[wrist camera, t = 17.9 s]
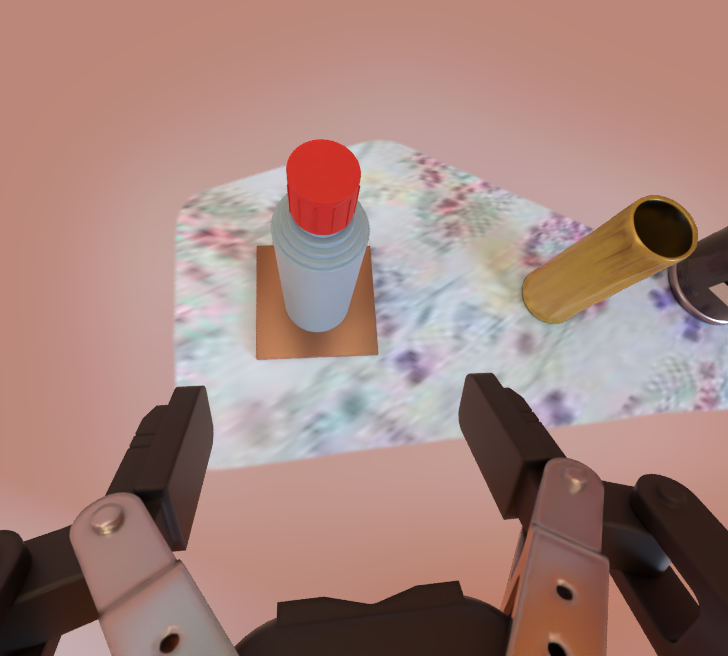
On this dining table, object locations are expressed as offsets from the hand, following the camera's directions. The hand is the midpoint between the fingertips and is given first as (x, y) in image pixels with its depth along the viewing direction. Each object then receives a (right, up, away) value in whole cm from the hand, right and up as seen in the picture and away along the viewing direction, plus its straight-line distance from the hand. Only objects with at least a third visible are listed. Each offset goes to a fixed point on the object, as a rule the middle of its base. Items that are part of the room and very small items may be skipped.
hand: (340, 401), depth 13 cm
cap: (-2, +9, +10) cm, 14 cm away
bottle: (-4, +5, +25) cm, 26 cm away
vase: (+20, +6, +30) cm, 36 cm away
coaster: (-4, +5, +26) cm, 27 cm away
